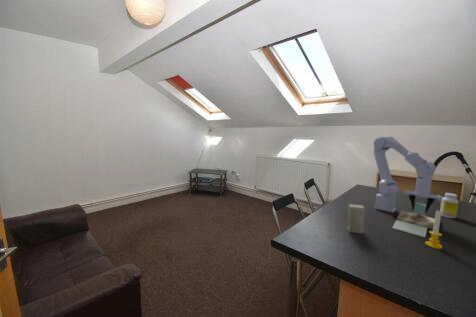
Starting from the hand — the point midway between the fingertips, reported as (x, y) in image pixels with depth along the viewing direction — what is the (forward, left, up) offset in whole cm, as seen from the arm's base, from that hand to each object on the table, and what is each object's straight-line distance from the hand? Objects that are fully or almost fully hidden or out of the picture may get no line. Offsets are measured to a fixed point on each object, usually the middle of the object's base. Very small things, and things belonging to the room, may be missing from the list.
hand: (419, 210), depth 108 cm
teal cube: (0, 0, -1) cm, 1 cm away
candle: (+7, -27, -6) cm, 28 cm away
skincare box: (-20, -37, -6) cm, 42 cm away
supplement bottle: (+11, +21, -6) cm, 24 cm away
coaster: (-2, -15, -6) cm, 16 cm away
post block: (0, 0, -6) cm, 6 cm away
